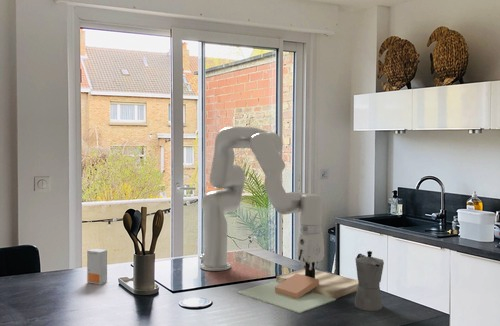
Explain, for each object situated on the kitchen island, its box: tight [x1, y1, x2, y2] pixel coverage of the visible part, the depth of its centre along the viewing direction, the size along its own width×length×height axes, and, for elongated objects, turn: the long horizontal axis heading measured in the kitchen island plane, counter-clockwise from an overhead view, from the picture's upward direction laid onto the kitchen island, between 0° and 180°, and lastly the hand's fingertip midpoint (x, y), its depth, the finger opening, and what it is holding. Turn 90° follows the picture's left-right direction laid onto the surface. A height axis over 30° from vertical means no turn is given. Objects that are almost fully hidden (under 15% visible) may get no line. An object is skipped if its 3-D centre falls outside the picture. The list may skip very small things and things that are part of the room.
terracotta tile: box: [274, 274, 319, 299], centre depth 181 cm, size 10×12×2 cm
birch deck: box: [275, 268, 358, 300], centre depth 190 cm, size 26×18×2 cm
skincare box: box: [86, 248, 108, 285], centre depth 191 cm, size 6×4×12 cm
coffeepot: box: [354, 250, 385, 312], centre depth 169 cm, size 15×9×18 cm, turn 13°
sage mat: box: [236, 280, 337, 314], centre depth 177 cm, size 28×19×1 cm
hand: (310, 279), depth 186 cm, fingers closed
